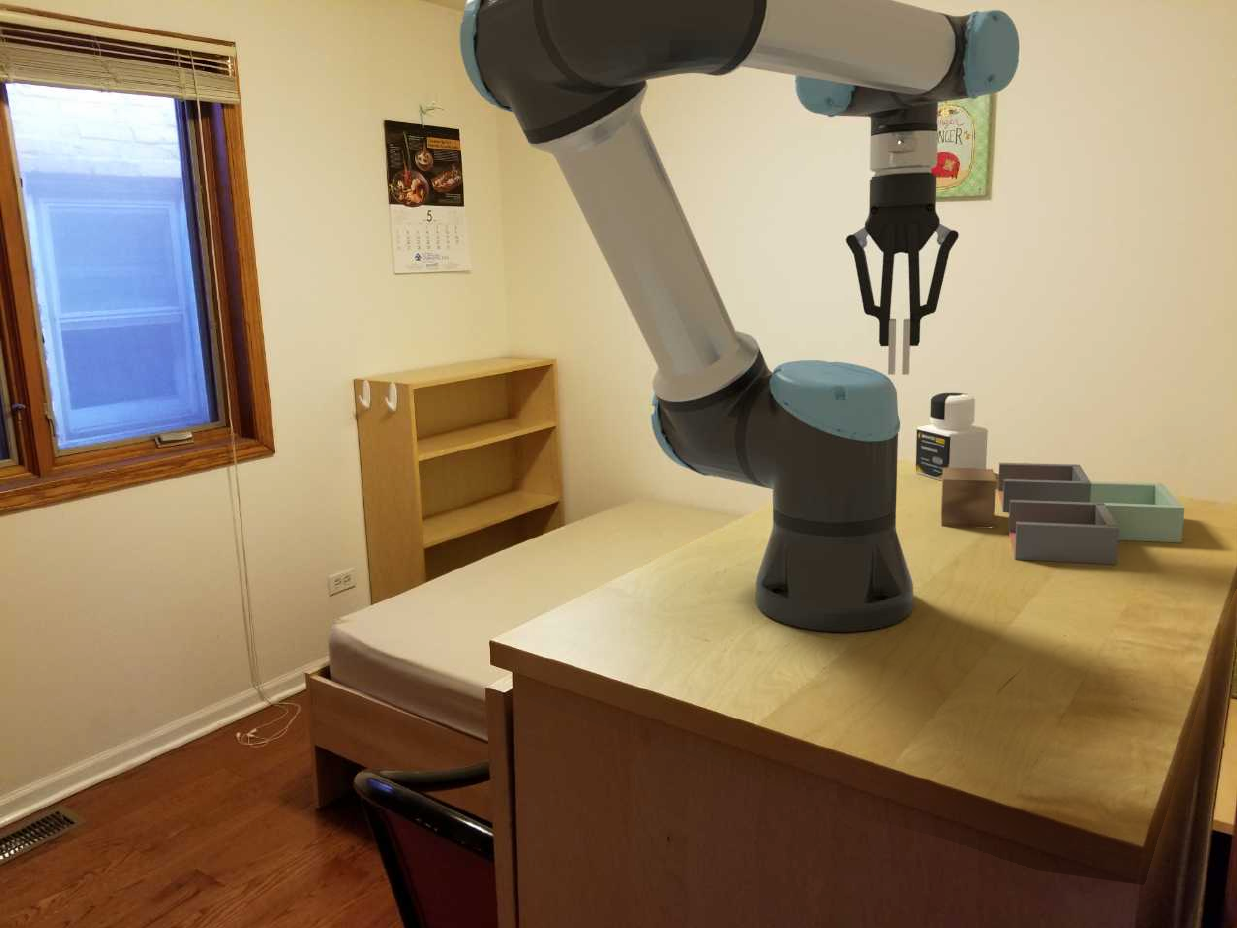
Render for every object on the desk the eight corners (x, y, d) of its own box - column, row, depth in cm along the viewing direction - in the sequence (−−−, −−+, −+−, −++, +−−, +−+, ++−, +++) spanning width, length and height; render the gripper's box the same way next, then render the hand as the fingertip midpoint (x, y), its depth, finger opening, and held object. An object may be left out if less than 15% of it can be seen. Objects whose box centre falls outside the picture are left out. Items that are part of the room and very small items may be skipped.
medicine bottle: (914, 473, 144) (916, 393, 142) (952, 467, 147) (955, 388, 144) (948, 483, 138) (950, 400, 135) (986, 476, 141) (990, 394, 138)
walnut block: (941, 526, 119) (943, 479, 117) (940, 513, 124) (942, 467, 123) (993, 528, 117) (996, 480, 116) (991, 515, 123) (993, 469, 121)
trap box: (1015, 559, 106) (1017, 524, 105) (997, 491, 133) (999, 462, 132) (1202, 569, 100) (1205, 532, 100) (1144, 495, 127) (1147, 466, 126)
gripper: (839, 175, 112) (837, 377, 118) (967, 167, 108) (960, 377, 113) (844, 177, 119) (842, 368, 125) (965, 170, 115) (958, 368, 120)
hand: (898, 372), depth 119 cm, fingers closed
